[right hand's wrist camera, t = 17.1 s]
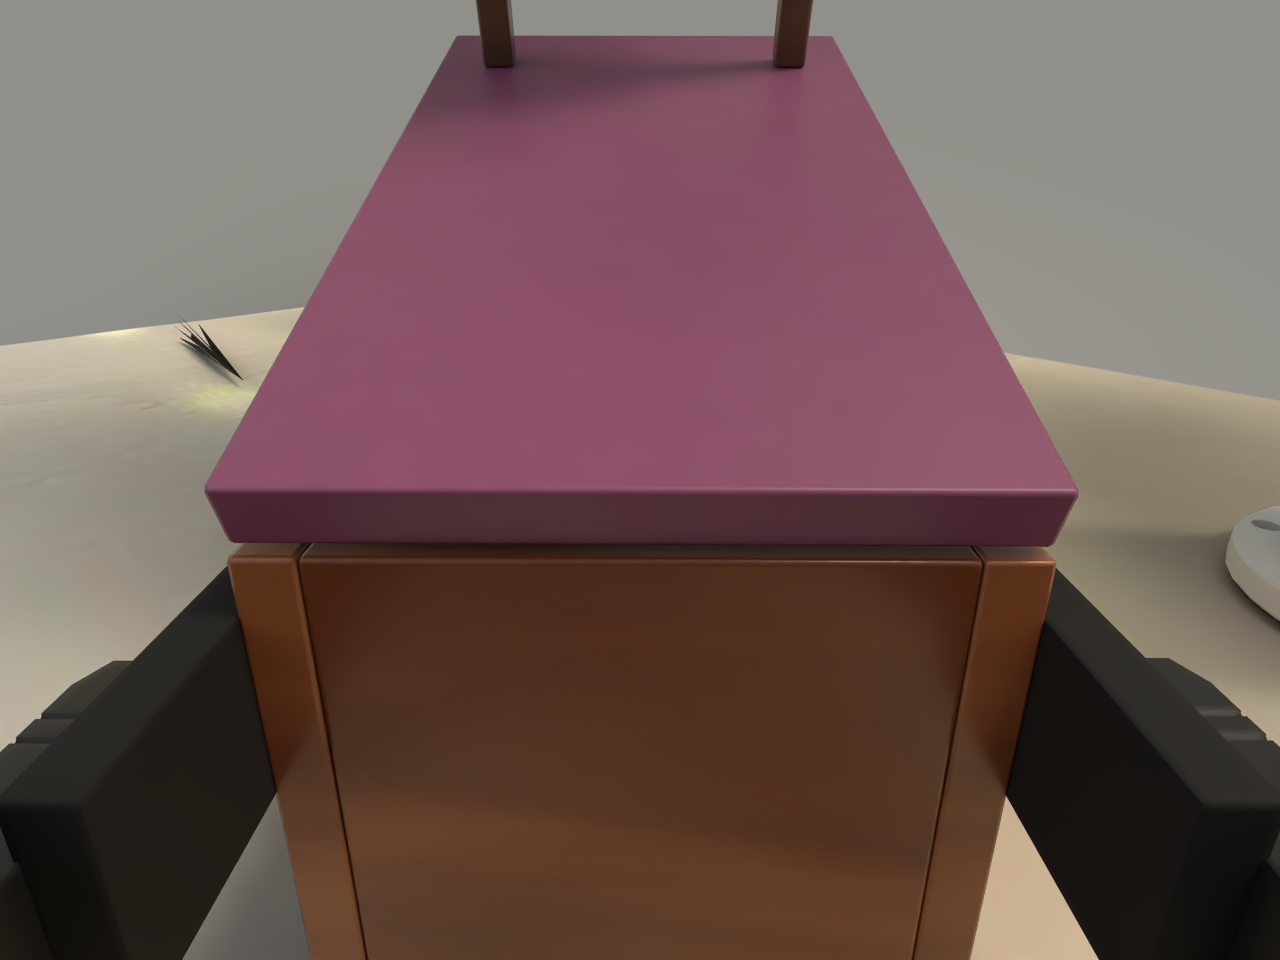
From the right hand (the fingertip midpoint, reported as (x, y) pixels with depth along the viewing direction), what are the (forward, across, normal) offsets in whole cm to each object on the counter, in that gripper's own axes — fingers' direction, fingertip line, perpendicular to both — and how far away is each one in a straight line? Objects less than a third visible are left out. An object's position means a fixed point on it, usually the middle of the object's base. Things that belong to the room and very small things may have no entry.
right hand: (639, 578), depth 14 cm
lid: (+4, 0, +5) cm, 7 cm away
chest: (+5, 0, -6) cm, 8 cm away
